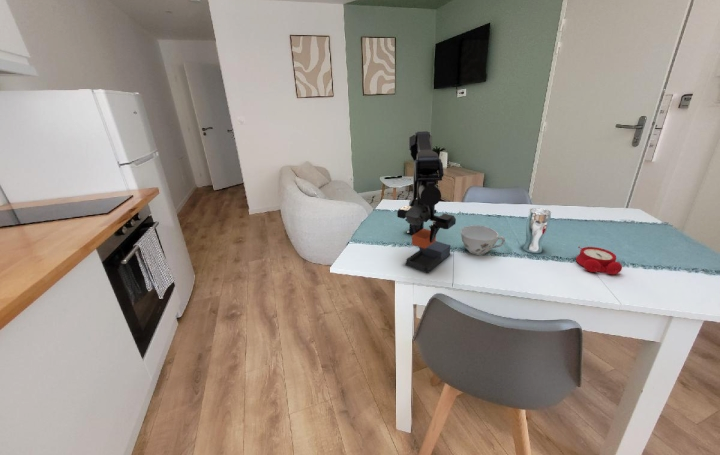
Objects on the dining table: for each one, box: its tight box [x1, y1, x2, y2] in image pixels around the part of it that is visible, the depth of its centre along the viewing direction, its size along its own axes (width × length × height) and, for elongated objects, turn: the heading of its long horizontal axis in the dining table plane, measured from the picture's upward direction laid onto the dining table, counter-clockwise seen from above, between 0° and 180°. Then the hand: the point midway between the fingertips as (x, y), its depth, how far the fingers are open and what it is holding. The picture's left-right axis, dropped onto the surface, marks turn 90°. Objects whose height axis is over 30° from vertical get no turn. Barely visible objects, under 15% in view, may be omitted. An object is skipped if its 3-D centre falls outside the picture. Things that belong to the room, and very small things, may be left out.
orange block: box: [411, 228, 437, 248], centre depth 97 cm, size 7×5×4 cm
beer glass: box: [522, 207, 552, 254], centre depth 104 cm, size 7×7×15 cm
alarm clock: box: [575, 246, 623, 275], centre depth 93 cm, size 10×6×15 cm
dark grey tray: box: [404, 240, 452, 274], centre depth 102 cm, size 16×9×4 cm, turn 138°
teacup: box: [460, 224, 506, 256], centre depth 105 cm, size 15×12×8 cm
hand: (424, 240), depth 98 cm, fingers closed on orange block, 5 cm apart
